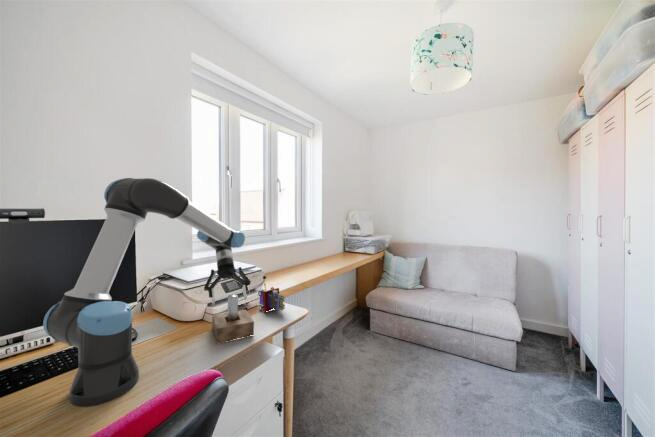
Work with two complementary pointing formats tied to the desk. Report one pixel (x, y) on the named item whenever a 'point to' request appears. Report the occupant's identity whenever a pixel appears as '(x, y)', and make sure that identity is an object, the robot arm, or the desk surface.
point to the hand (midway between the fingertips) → (230, 301)
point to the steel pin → (232, 308)
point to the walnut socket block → (232, 326)
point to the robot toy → (270, 299)
